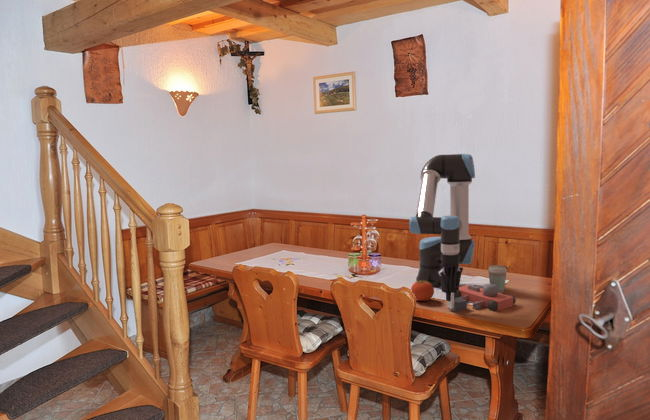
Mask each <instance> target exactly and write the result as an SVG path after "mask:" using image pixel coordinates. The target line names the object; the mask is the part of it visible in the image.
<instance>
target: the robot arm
mask: <svg viewBox="0 0 650 420" xmlns="http://www.w3.org/2000/svg"><path fill="white" fill-rule="evenodd" d="M475 171H476V170H475V164H474V159H473V156H472V154H469V153H467V154H466V153H456V154H452V153H451V154H437V155H435V156H433V157H431V158H430V159H429V160H428V161H427V162H426V163H425V164H424V165H423V168H422V169H421V171H420V180H421V183H420V190H419V195H418V201H417V207H416V208H417V209H416V212H415V213H416V214H415V216H411V217H410V218H409V223H408V224H409V226H408V227H409V232H410V233H411V234H417V235H440V236H430V237H425V238H422V239H421V240H420V241H419V247H418V248H419V249H418V250H419V251H418V252H419V268H418V273H417V276H416V281H421V280H422V279H423V281H427V282H429V283H431V284H432V286H433V288H435V287H437V288H438V287H440V288H441V292H442V293H444V294H445V300H446V308H447V309H448V308H450V309H453V308H454V300H455V293H457V291H458V290H459V287H460V284H461V276H462V273H463V270H464V268H463V267H461V266H460V265H471V264H472V262H473V258H474V252H475V243H476V242H475V241H474V240H473V239H472V236H471V235H470V233H469V231H470V230H469V226H470V225H469V224H470V223H469V221H470V220H469V218H470V217H469V216H470V215H469V208H470V207H469V202H470V201H469V200H470V199H469V193H470V191H469V189H470V188H469V186H470V184H472V182H473V179H475V178H476V173H475ZM441 179H446V181H447V184H448V185H449V186H450V189H449V190H450V191H449V192H450V193H449V194H450V195H449V196H450V197H449V198H450V203H449V205H450V208H449V209H450V213H449V215H444V216H441V217H437V216H434V213H435V212H434V211H435V206H436V198H437V190H438V185H439V182H440V181H441ZM416 281H415V282H416ZM450 309H449V310H450Z"/></svg>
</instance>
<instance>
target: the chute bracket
mask: <svg viewBox="0 0 650 420" xmlns="http://www.w3.org/2000/svg"><path fill="white" fill-rule="evenodd" d="M458 298H462V299H464V300H467V302H469V301H468V296H467V295H466V296H462V297H458ZM483 307H484V301H483V300H482V301H479V302H475V303H472V309H473V310H478V309H481V308H483Z"/></svg>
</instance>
